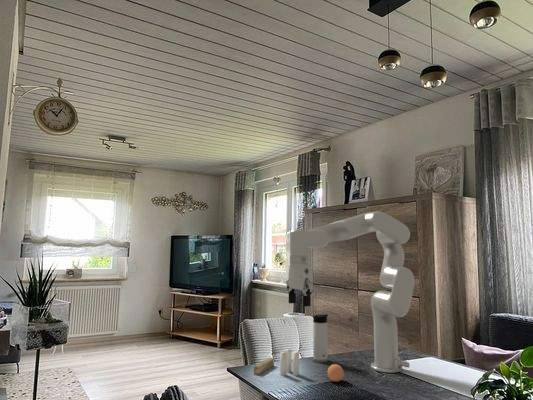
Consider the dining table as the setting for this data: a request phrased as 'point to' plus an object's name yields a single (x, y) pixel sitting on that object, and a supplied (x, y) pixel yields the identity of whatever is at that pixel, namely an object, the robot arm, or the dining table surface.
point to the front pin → (296, 363)
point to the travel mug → (320, 338)
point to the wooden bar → (263, 366)
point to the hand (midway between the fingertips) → (299, 304)
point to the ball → (335, 372)
